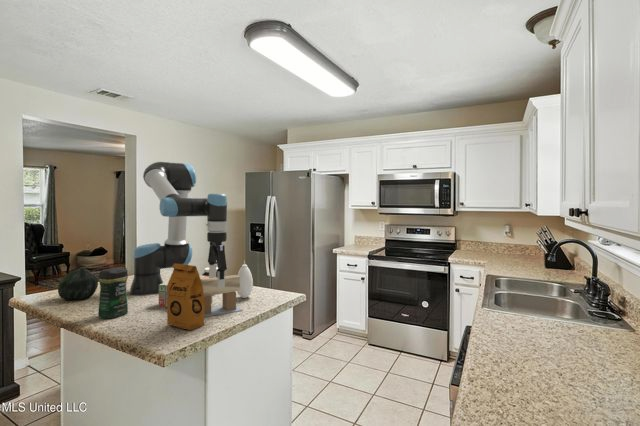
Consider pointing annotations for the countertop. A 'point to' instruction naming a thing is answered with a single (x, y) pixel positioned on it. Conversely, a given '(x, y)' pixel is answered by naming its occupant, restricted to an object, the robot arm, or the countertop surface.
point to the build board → (221, 311)
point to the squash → (77, 284)
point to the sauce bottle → (245, 281)
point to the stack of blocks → (163, 292)
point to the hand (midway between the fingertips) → (216, 283)
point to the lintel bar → (230, 286)
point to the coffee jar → (113, 292)
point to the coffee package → (185, 298)
